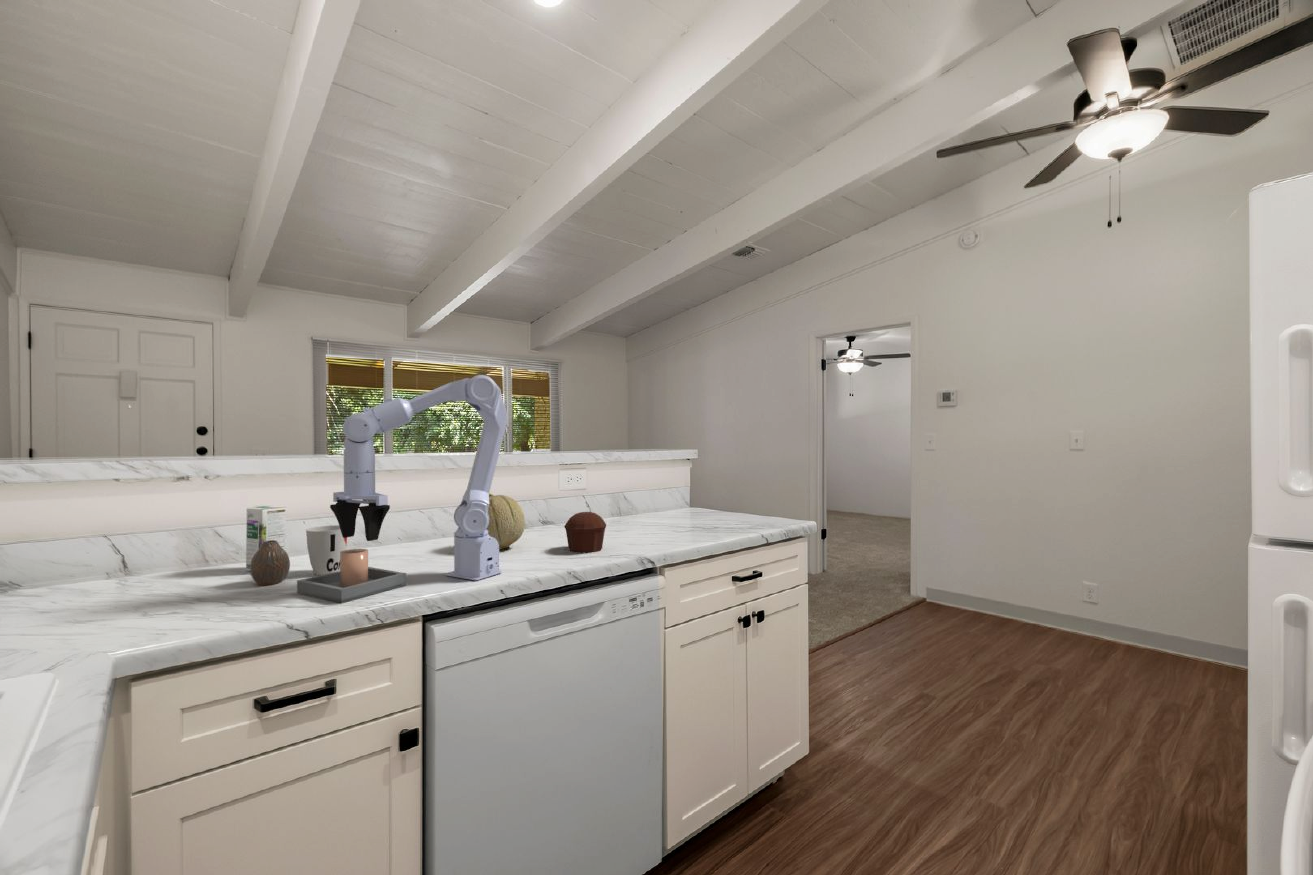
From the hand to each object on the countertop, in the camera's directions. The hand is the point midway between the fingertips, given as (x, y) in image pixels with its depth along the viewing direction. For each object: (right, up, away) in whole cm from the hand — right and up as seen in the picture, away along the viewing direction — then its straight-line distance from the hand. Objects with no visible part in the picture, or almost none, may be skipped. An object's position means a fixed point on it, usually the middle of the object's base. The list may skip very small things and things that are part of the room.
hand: (360, 538), depth 117 cm
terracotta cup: (0, -9, -2) cm, 9 cm away
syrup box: (-29, -10, +14) cm, 34 cm away
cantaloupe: (+18, -10, +38) cm, 43 cm away
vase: (-20, -10, +3) cm, 23 cm away
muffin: (+42, -10, +37) cm, 56 cm away
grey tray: (0, -10, -2) cm, 10 cm away
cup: (-14, -10, +12) cm, 20 cm away
